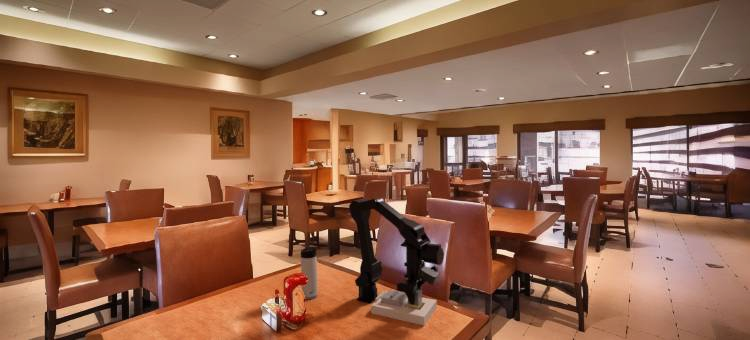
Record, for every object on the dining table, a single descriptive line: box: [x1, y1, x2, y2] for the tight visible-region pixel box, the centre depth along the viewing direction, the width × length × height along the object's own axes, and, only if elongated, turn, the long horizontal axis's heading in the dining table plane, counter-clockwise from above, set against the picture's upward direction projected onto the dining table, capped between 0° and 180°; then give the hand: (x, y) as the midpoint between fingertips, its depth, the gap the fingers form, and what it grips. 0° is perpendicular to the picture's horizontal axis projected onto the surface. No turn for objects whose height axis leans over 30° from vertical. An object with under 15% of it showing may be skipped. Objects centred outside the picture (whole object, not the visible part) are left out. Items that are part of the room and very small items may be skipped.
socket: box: [370, 290, 438, 326], centre depth 126 cm, size 20×14×4 cm
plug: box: [408, 287, 423, 309], centre depth 124 cm, size 4×4×6 cm
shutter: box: [381, 289, 407, 306], centre depth 127 cm, size 7×7×3 cm
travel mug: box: [300, 246, 319, 301], centre depth 139 cm, size 6×7×20 cm
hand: (414, 302), depth 124 cm, fingers closed on plug, 4 cm apart
